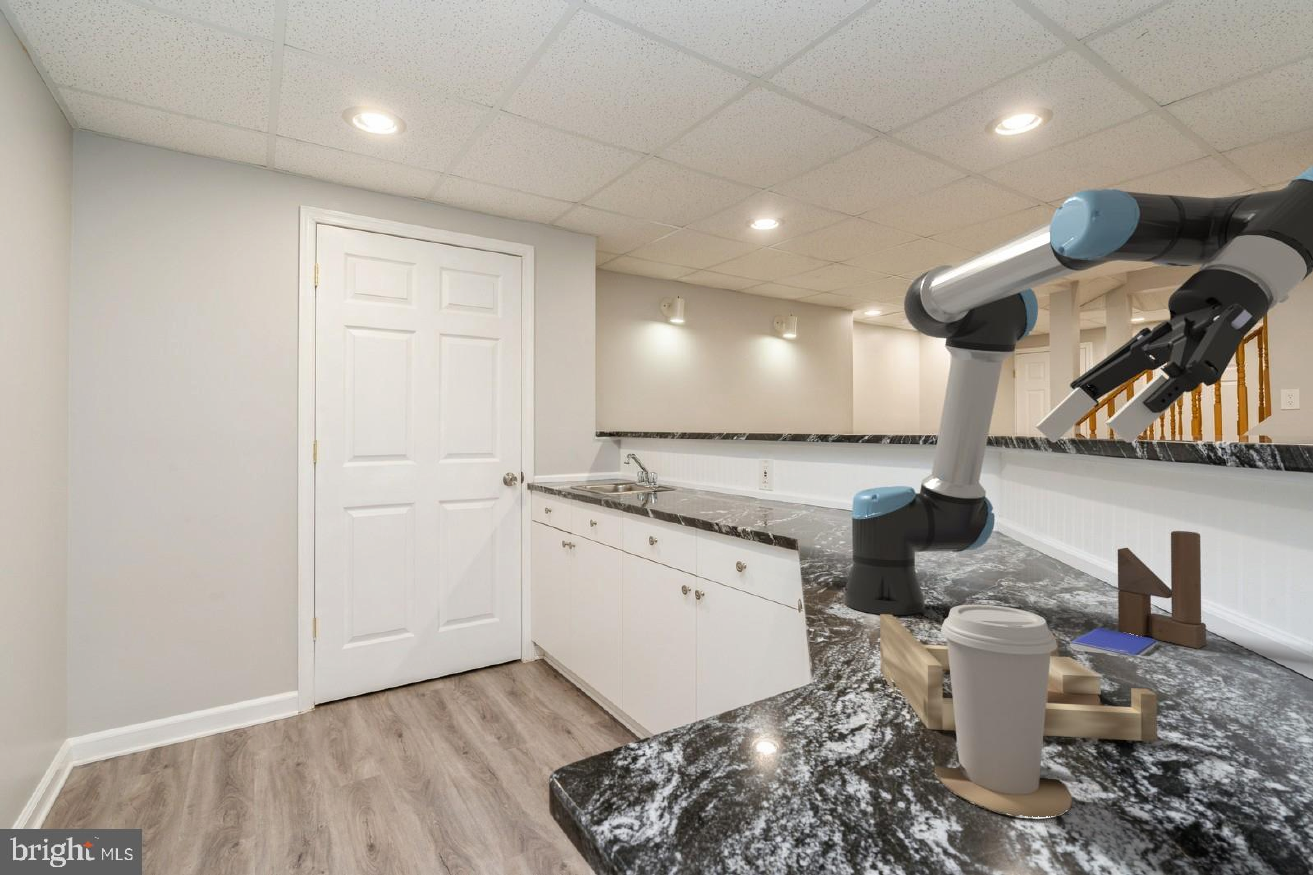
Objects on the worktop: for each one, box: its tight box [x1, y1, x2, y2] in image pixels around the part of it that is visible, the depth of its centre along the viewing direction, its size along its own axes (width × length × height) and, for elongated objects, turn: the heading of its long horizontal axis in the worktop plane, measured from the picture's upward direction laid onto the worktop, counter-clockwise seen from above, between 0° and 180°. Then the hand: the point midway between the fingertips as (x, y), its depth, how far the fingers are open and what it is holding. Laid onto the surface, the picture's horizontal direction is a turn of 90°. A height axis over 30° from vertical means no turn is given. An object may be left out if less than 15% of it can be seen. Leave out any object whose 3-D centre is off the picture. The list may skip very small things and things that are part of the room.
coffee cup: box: [940, 604, 1057, 795], centre depth 57 cm, size 10×10×15 cm
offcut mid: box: [1046, 681, 1101, 706], centre depth 73 cm, size 5×8×2 cm, turn 156°
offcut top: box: [1048, 656, 1102, 695], centre depth 73 cm, size 4×6×2 cm, turn 172°
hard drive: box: [1069, 627, 1158, 657], centre depth 96 cm, size 2×8×12 cm
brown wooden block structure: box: [1117, 530, 1207, 649], centre depth 100 cm, size 4×11×18 cm, turn 32°
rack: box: [879, 614, 1158, 743], centre depth 73 cm, size 22×20×8 cm
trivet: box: [934, 765, 1072, 817], centre depth 56 cm, size 11×11×1 cm
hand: (1077, 433), depth 66 cm, fingers open, 13 cm apart
